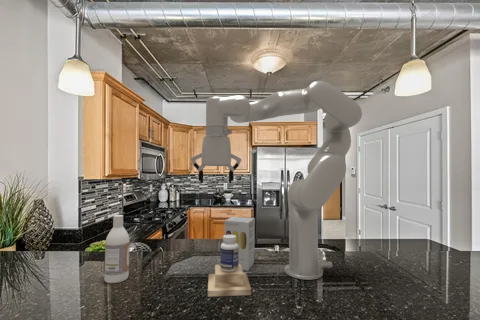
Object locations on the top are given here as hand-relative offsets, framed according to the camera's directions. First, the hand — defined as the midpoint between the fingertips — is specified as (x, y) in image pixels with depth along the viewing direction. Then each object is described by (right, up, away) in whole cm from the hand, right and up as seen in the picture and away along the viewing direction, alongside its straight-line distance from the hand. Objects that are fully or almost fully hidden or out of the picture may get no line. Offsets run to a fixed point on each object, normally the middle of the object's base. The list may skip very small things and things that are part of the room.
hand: (216, 182), depth 87 cm
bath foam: (-31, -30, -7) cm, 44 cm away
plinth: (+5, -30, -11) cm, 32 cm away
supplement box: (+8, -31, +6) cm, 33 cm away
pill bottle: (+5, -25, -11) cm, 28 cm away
